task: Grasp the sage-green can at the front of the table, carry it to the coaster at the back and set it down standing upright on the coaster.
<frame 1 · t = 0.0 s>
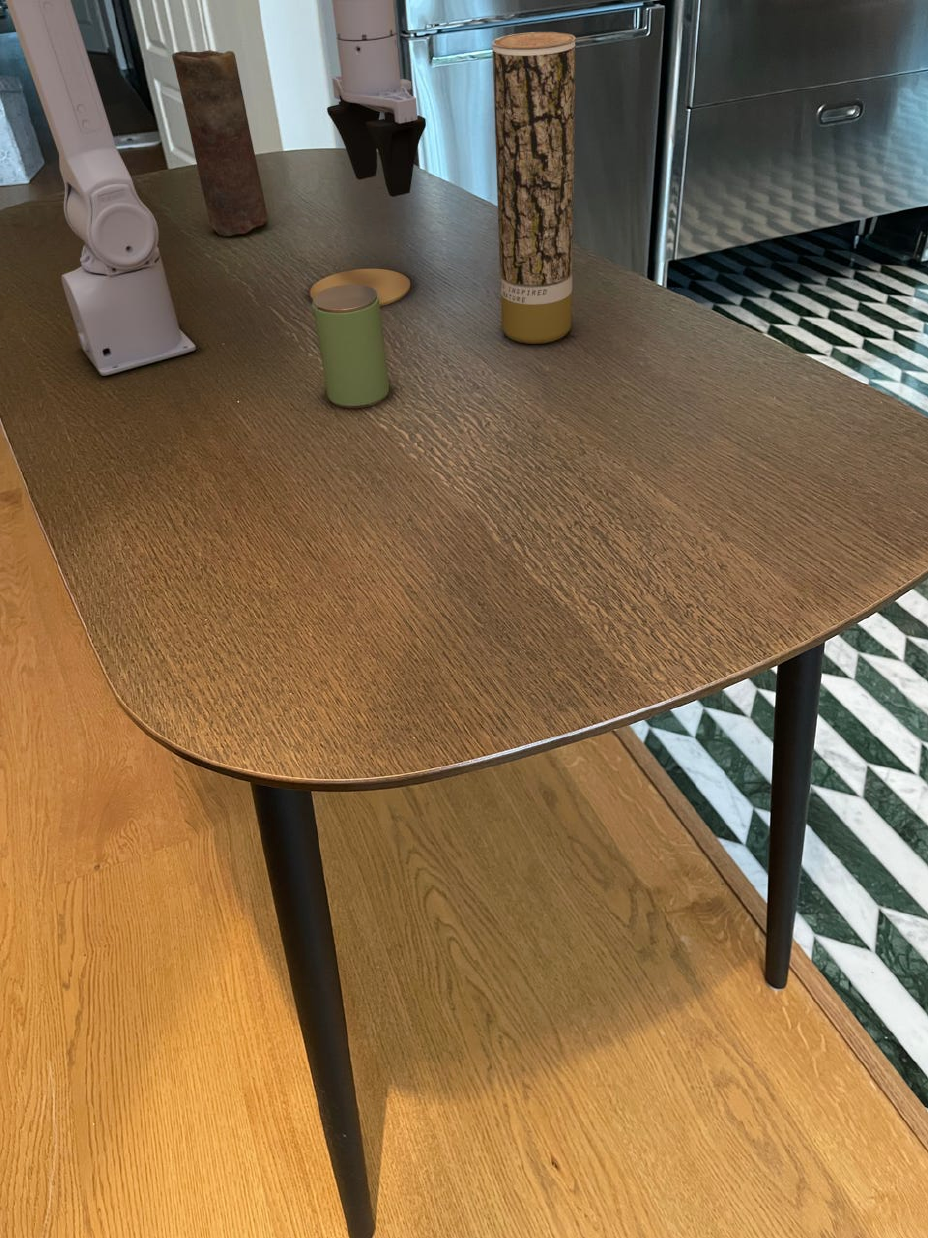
hand: (382, 185, 101), 10 cm above the table, tool pointing down, fingers open, 7 cm apart
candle: (240, 228, 125), on the table
can: (358, 394, 87), on the table
paper tube: (536, 333, 95), on the table
coaster: (360, 289, 106), on the table
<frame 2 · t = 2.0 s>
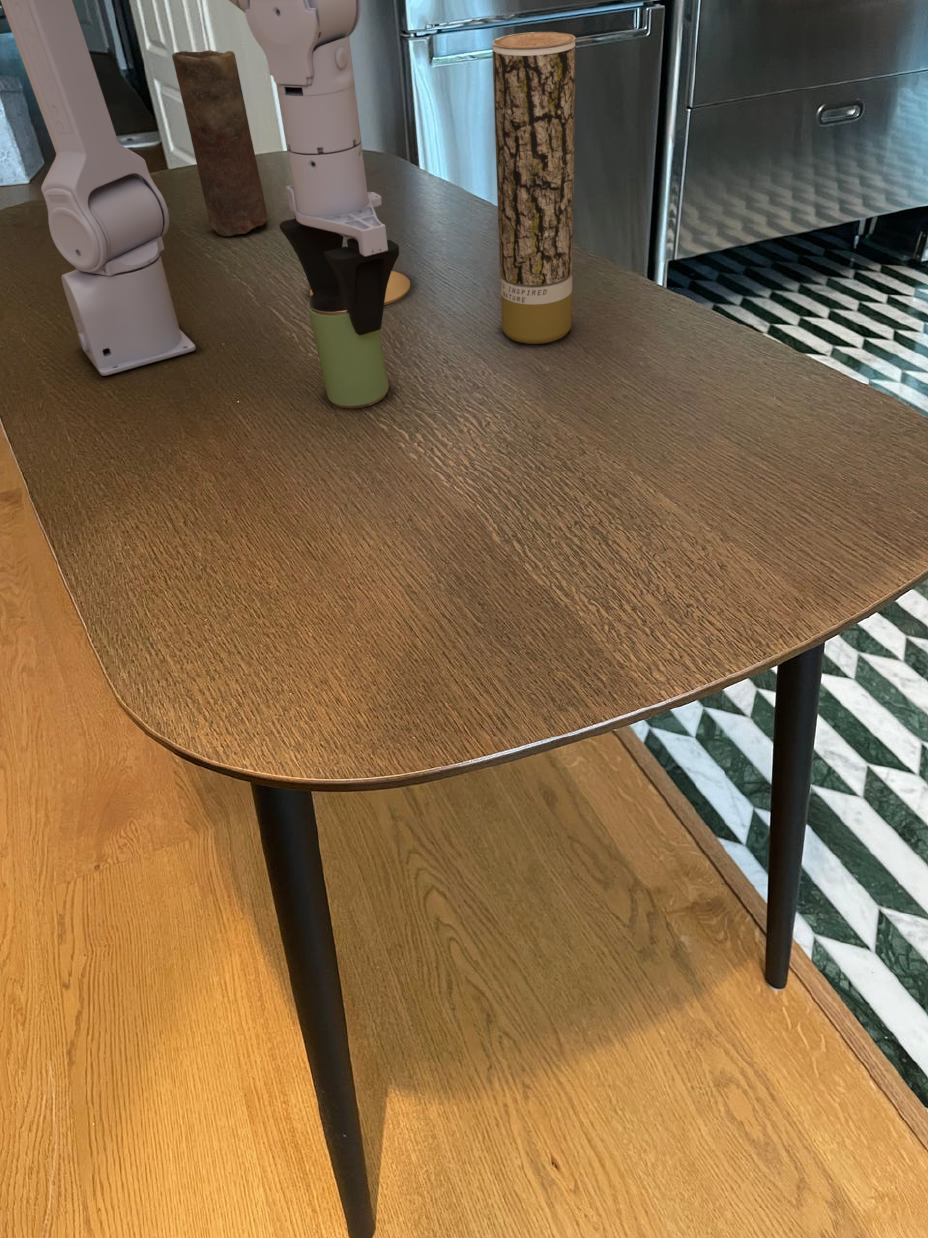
hand: (348, 316, 83), 7 cm above the table, tool pointing down, fingers open, 7 cm apart
nothing on the table moved.
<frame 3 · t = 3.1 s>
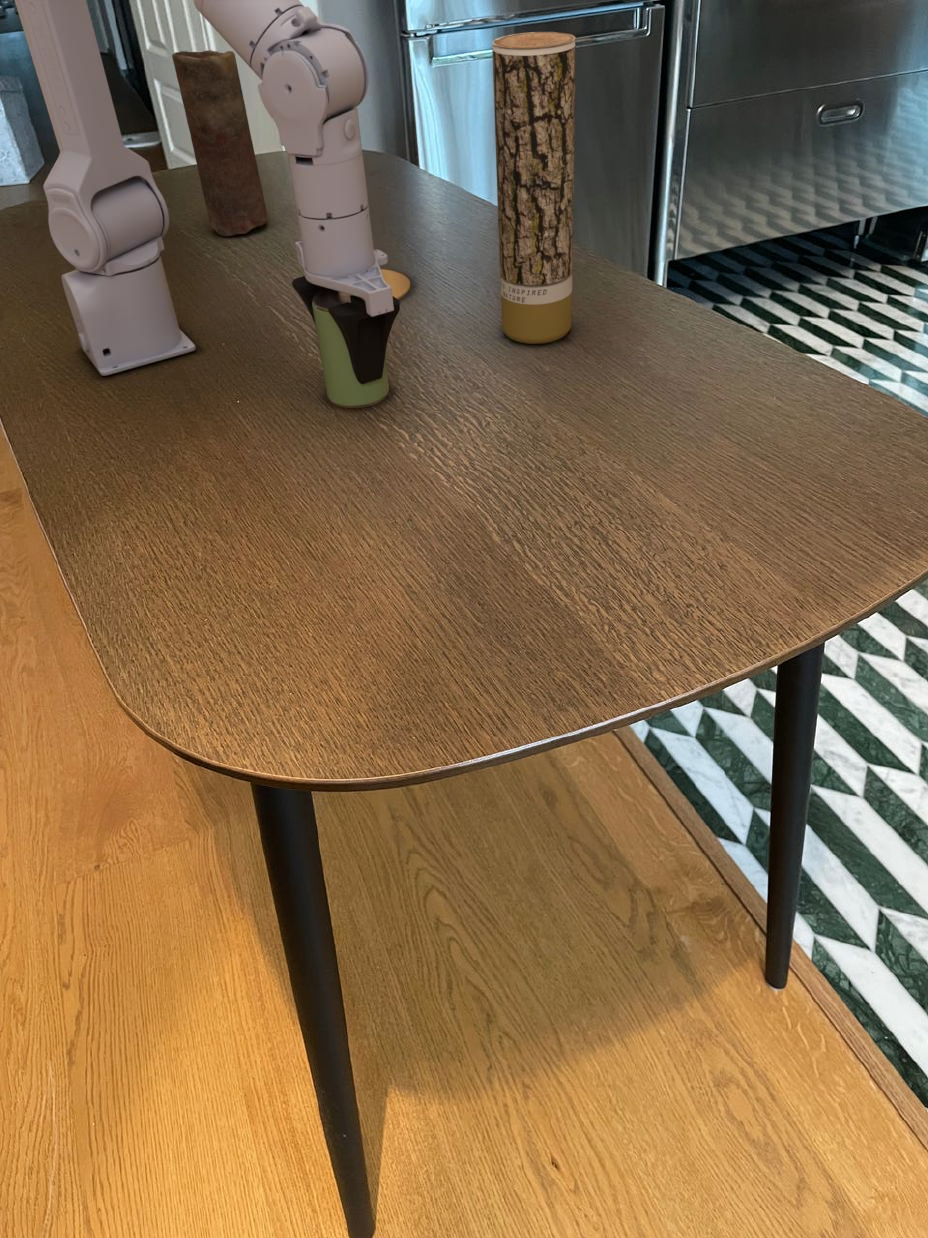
hand: (354, 367, 85), 3 cm above the table, tool pointing down, fingers closed on can, 5 cm apart
can: (358, 393, 87), on the table, touching gripper
everything else where it was.
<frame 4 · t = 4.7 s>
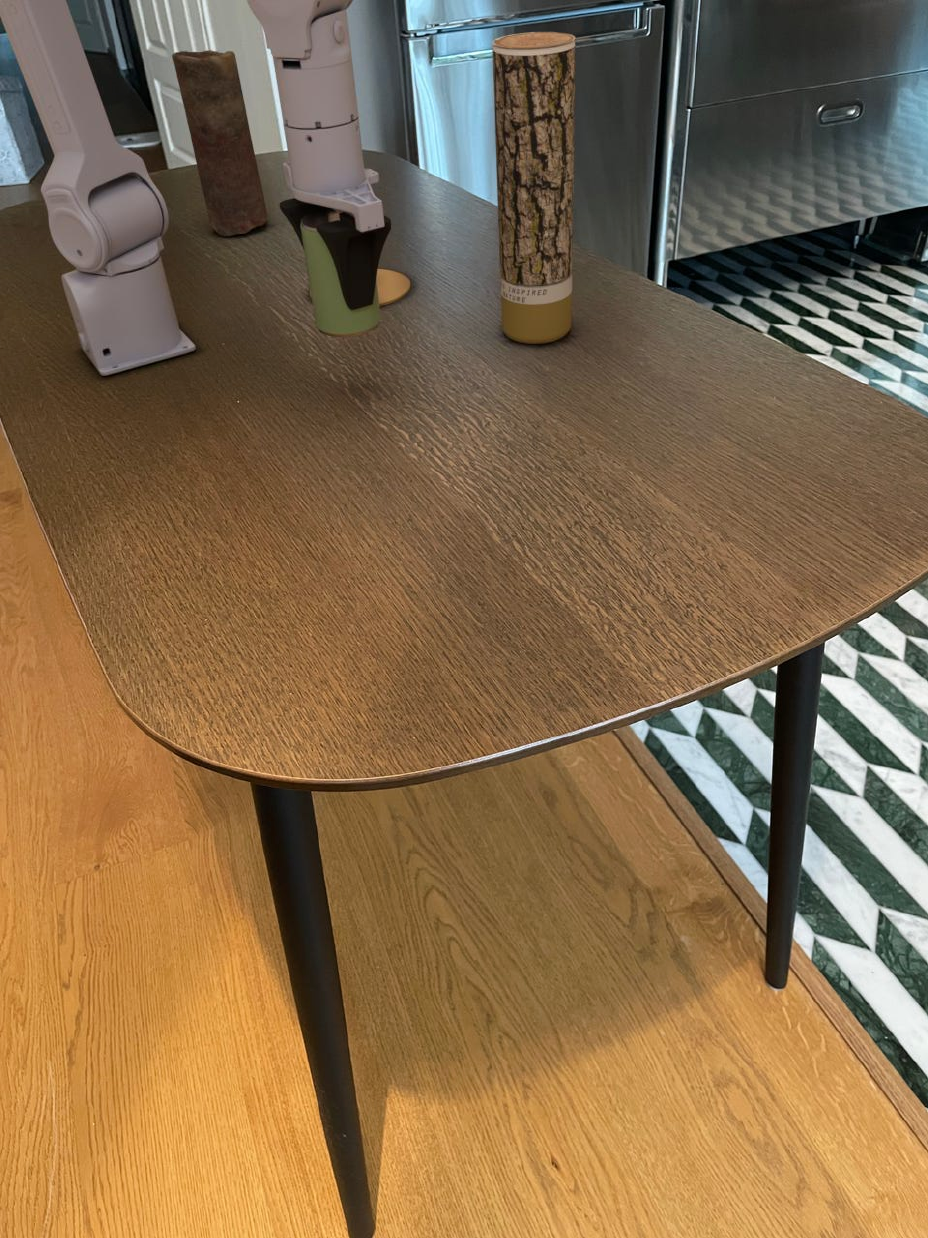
hand: (345, 294, 82), 9 cm above the table, tool pointing down, fingers closed on can, 5 cm apart
can: (348, 324, 84), point 6 cm above the table, touching gripper
everything else where it was.
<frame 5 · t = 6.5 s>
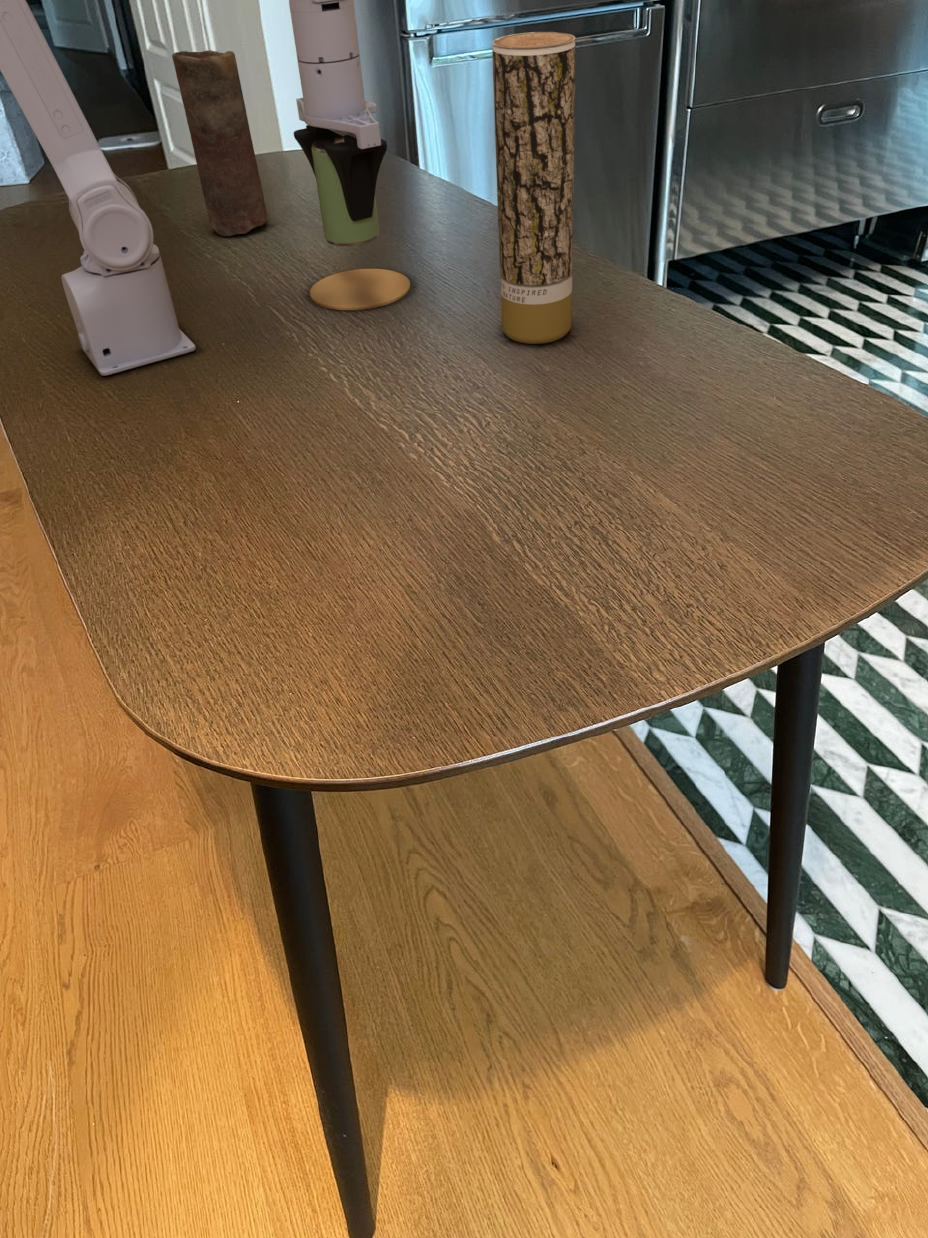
hand: (348, 210, 97), 9 cm above the table, tool pointing down, fingers closed on can, 5 cm apart
can: (352, 236, 99), point 7 cm above the table, touching gripper
everything else where it was.
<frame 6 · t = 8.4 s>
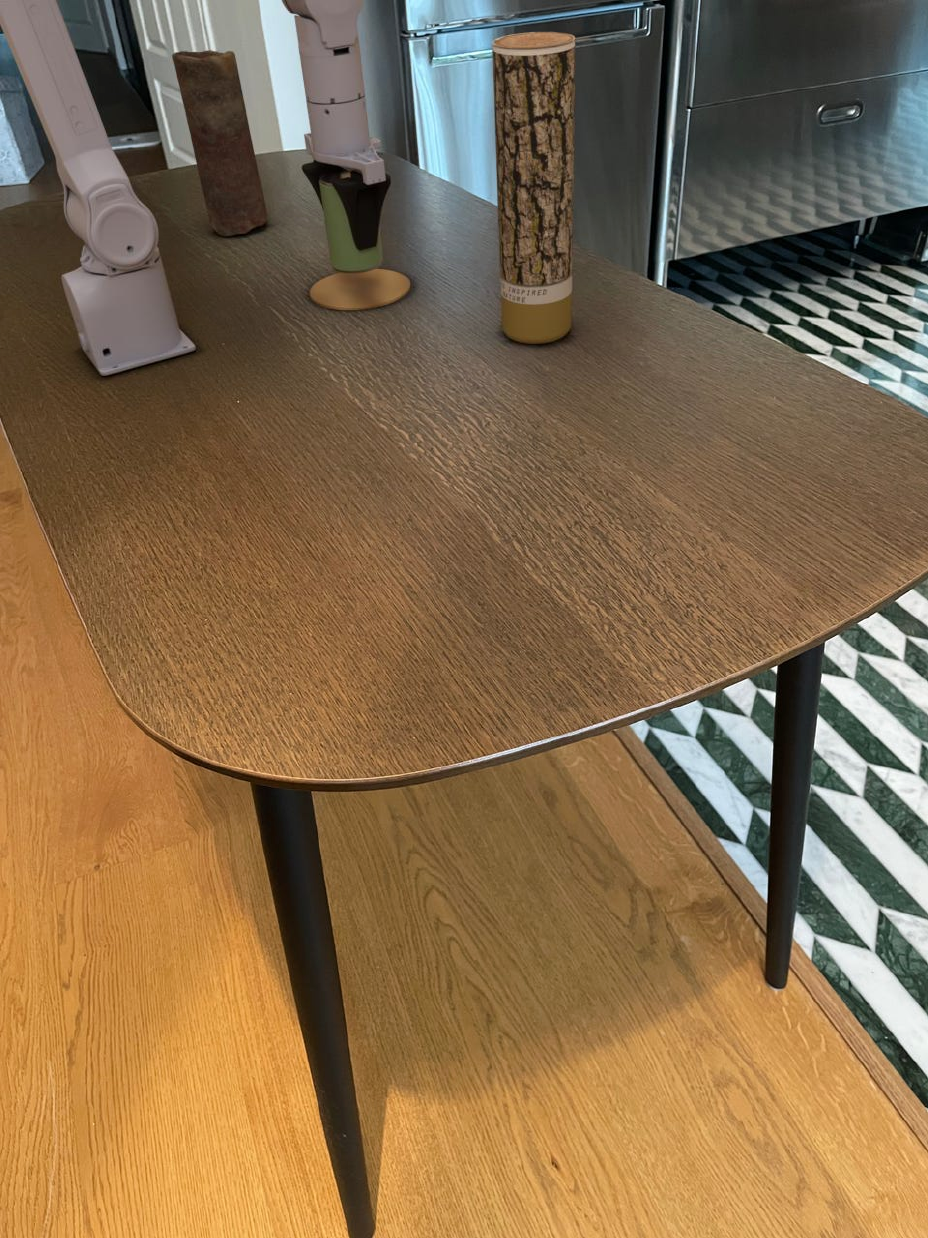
hand: (354, 239, 102), 5 cm above the table, tool pointing down, fingers closed on can, 5 cm apart
can: (357, 263, 104), point 3 cm above the table, touching gripper
everything else where it was.
when the fingers open (3 cm above the table, at t = 9.8 s): can stays where it is, resting on coaster.
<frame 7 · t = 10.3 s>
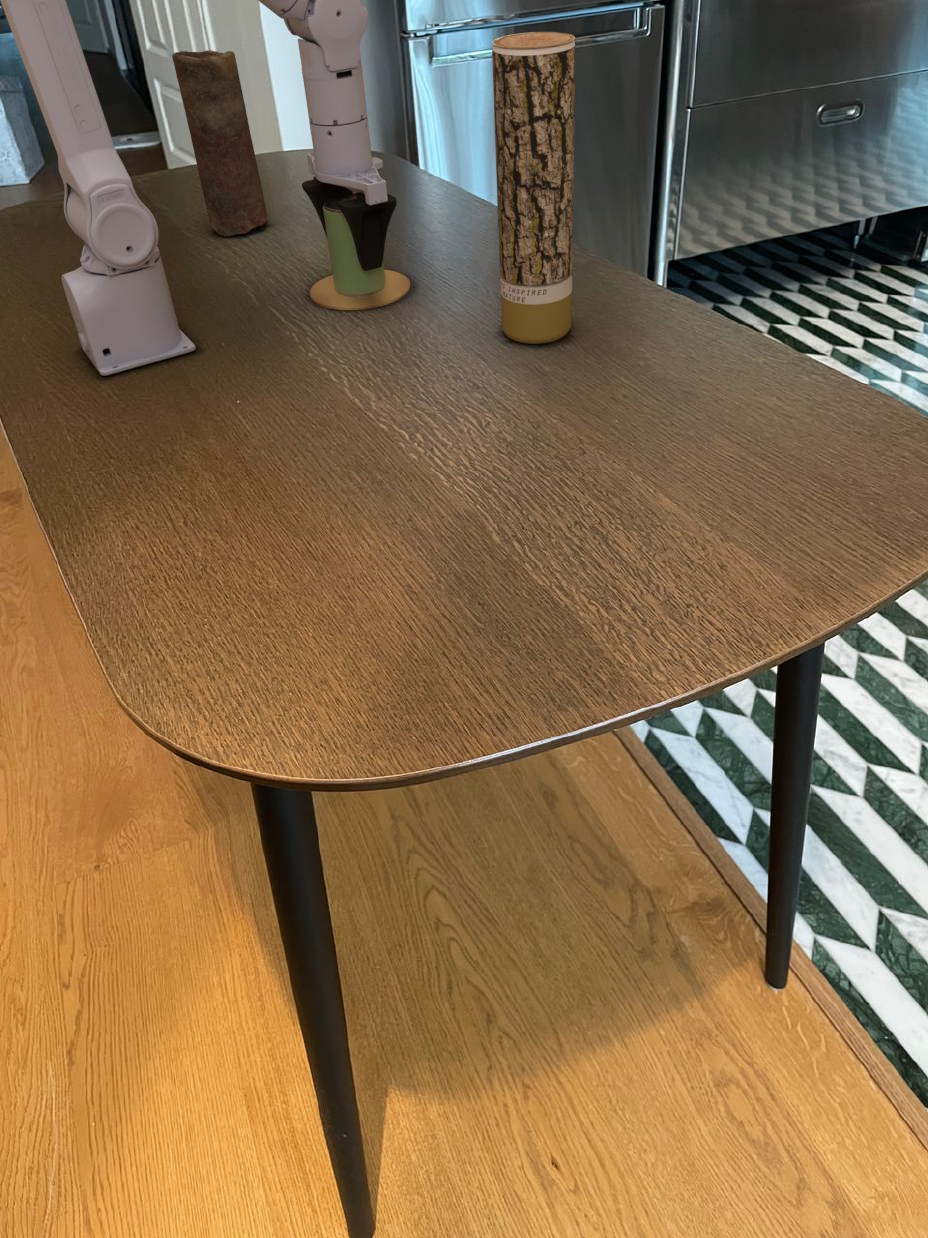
hand: (356, 257, 104), 4 cm above the table, tool pointing down, fingers open, 7 cm apart
can: (360, 286, 106), resting on coaster
everything else where it was.
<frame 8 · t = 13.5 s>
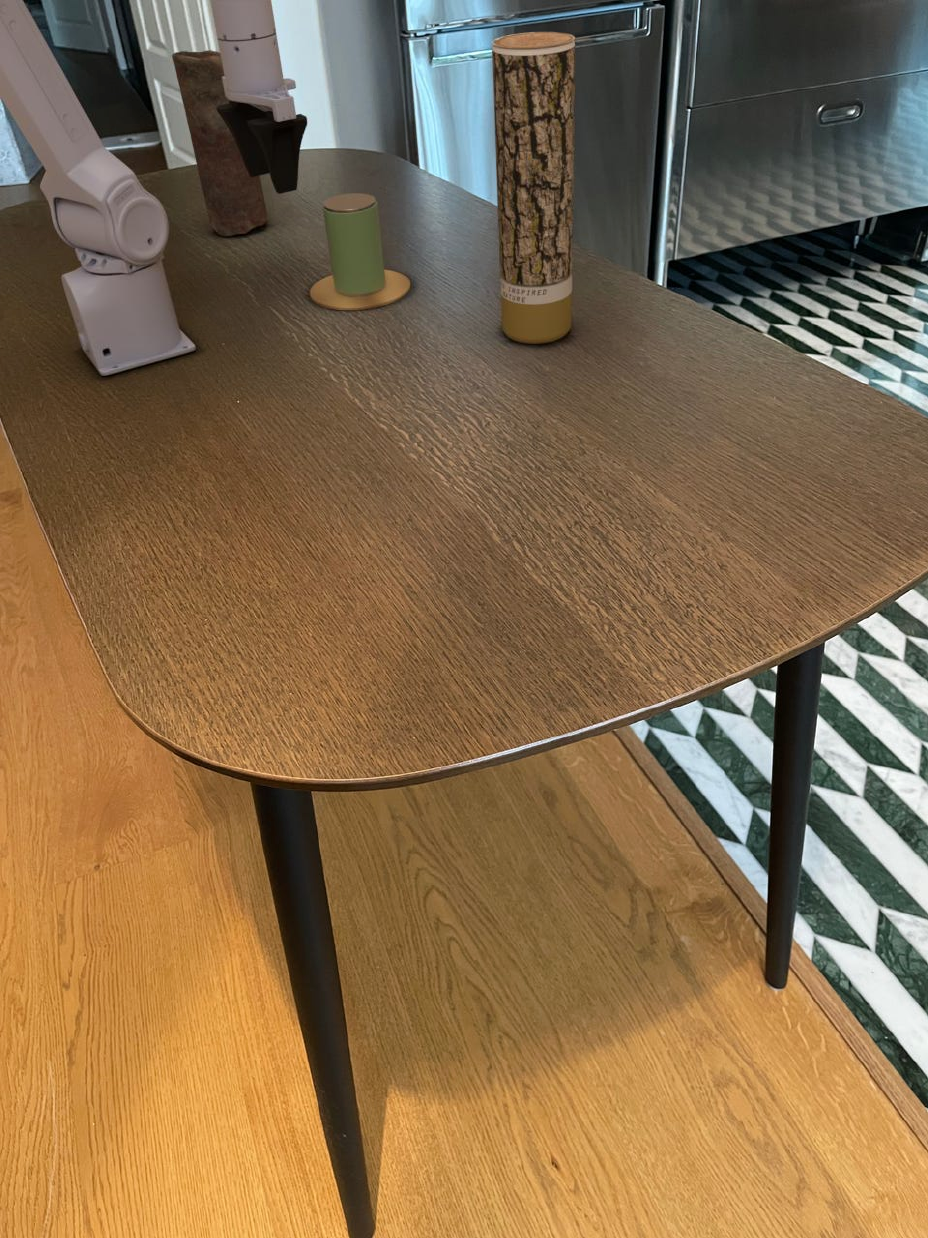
hand: (272, 182, 103), 10 cm above the table, tool pointing down, fingers open, 7 cm apart
nothing on the table moved.
at the end: can 0.1 cm off-centre on the coaster, point 0.3 cm above the coaster's base; can tilted 0°; the gripper is holding nothing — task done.
